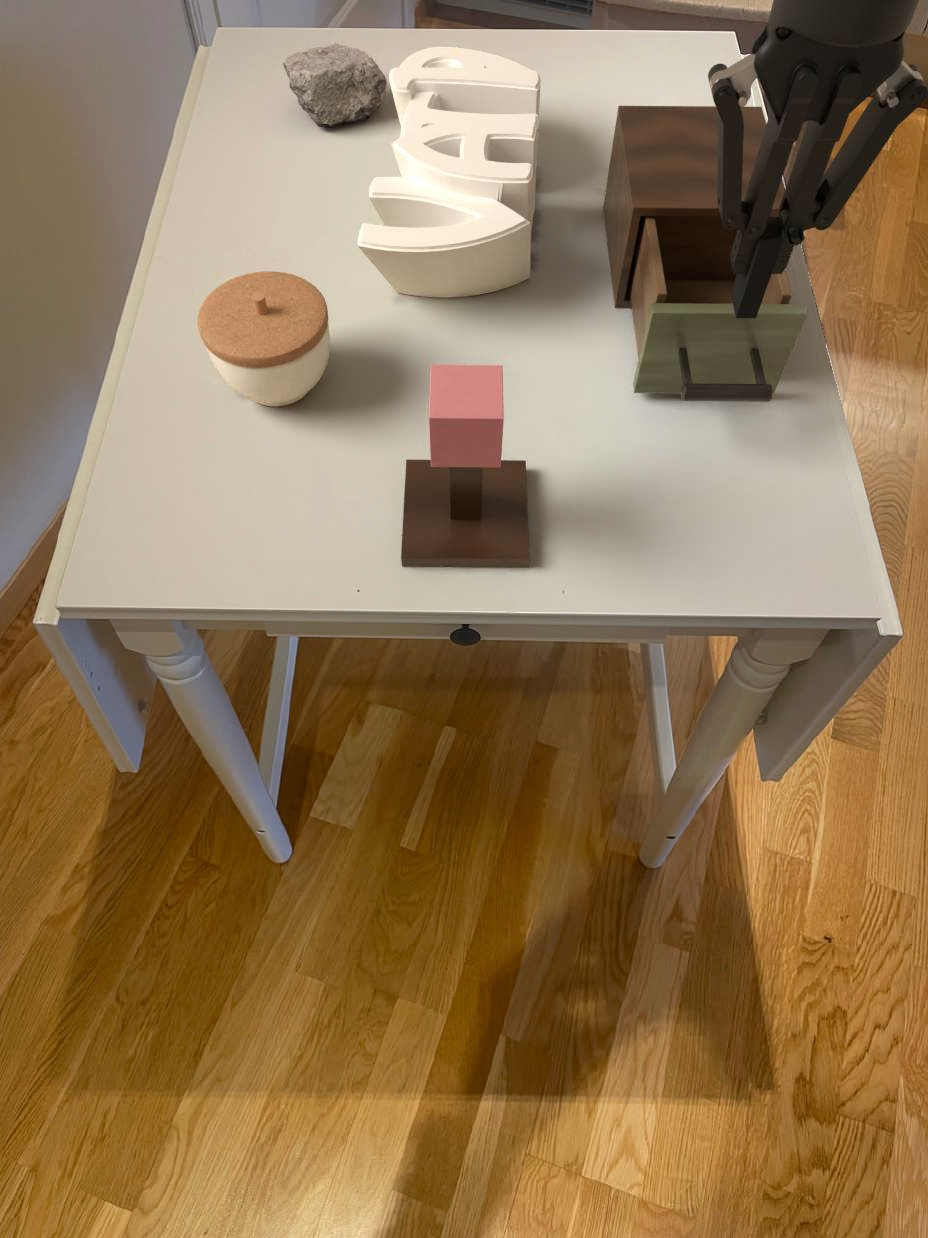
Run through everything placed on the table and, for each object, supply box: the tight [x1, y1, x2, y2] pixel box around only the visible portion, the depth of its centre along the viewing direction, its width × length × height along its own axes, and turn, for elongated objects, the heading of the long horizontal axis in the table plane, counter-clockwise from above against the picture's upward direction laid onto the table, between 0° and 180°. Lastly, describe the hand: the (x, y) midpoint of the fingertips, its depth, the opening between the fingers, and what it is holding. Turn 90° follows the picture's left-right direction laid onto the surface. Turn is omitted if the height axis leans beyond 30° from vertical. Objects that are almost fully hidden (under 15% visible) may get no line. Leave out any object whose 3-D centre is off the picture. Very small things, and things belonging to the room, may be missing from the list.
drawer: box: [628, 216, 808, 403], centre depth 76 cm, size 20×12×9 cm, turn 0°
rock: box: [282, 42, 388, 128], centre depth 99 cm, size 11×8×10 cm
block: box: [428, 364, 505, 468], centre depth 62 cm, size 5×5×5 cm
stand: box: [400, 459, 530, 568], centre depth 68 cm, size 10×10×9 cm
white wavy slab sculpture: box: [357, 46, 541, 298], centre depth 87 cm, size 35×16×10 cm, turn 172°
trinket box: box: [197, 270, 331, 407], centre depth 75 cm, size 11×11×9 cm
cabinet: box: [602, 105, 786, 309], centre depth 84 cm, size 16×14×11 cm
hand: (743, 305), depth 66 cm, fingers closed
